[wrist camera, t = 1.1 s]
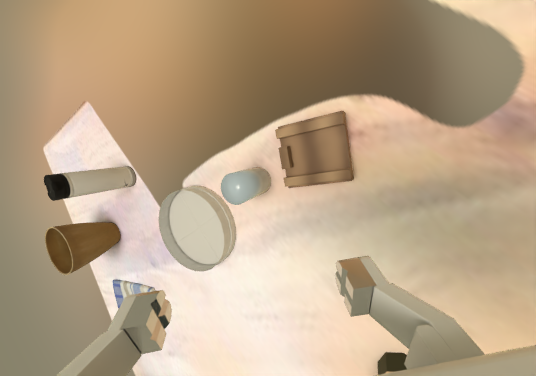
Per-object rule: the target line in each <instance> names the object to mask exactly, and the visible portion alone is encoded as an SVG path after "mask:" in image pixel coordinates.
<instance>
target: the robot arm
mask: <svg viewBox="0 0 536 376" xmlns="http://www.w3.org/2000/svg"><path fill="white" fill-rule="evenodd" d="M336 268H337V270H338V271H337V272H336V284H337V287H338V290H339V292H340V294H341V295H342V296H344V297H345V300H344V303H345V305H346V308H347V310H348V312H349V314H350V316H351V317H352V316H359V315H365V314H369V315H370V316H371V317H372V318H374V319H375V320H376V321H377V322H378V323H379V324H380V325H382V326H383V327H384V328H385V329H386V330H387V331H389V332H390V333H391V334H392V335H393V336H394V337H396V338H397V339H398V340H399V341H400V342H401V343H403V344H404V345H405V346H406V347H407V348H408V349H409V351H408V354H407V357H406V360H405V363H404V364H405V366H406V368H407V370H402V371H396V372H391V373H386V374H381V375H375V376H536V345H533V346H528V347H523V348H518V349H512V350H507V351H502V352H496V353H491V354H486V355H485V354H484V353H483V352H482V351H481V349H480V348H479V347H478V346H477V345H476V344H475V343H474V341H473V340H472V339H471V338H470V337H469V336H468V335H467V333H466V332H465V331H464V330H463V329H462V328H461V327H460V325H459V324H458V323H457V322H456V321H455V320H454V319H453V318H452V317H450V316H448V315H446V314H445V313H443V312H441V311H440V310H438V309H436V308H434V307H433V306H431V305H429V304H427V303H426V302H424V301H422V300H421V299H419V298H417V297H415V296H414V295H412V294H410V293H408V292H407V291H405V290H403V289H402V288H400V287H398V286H396V285H395V284H393V283H392V284H389V282H388V281H387V280H386V278H385V277H384V276H383V274H382V273H381V271H380V270H379V269H378V267H377V266H376V264H375V263H374V262H373V260H372V259H371V257H369V256H363V257H358V258H351V259H345V260H340V261H337V262H336ZM165 296H166V294H165V292H164V291H163V290H160V291H152V292H145V293H139V294H132V295H128V296H126V297H125V298H124V300H123V302H122V304H121V306H120V308H119V310H118V311H117V313H116V315H115V317H114V319H113V321H112V323H111V325H110V327H109V329H108V330H107V332H105V333H102V334H101V335H100V336H99V337H98V338H97V339H96V340H95V341H94V342H93V343H91V344H90V345H89V346H88V347H87V348H86V349H85V350H84V351H83V352H82V353H80V354H79V355H78V356H77V357H76V358H75V359H74V360H73V361H72V362H71V363H69V364H68V365H67V366H66V367H65V368H64V369H63V370H62V371H61V372H60V373H58V375H56V376H126V375H127V374H128V373H129V371H130V370H131V369H132V367H133V366H134V365H135V363H136V362H137V361H138V360H139V358H140V357H141V354H145V353H150V352H155V351H159V350H162V347H163V344H164V340H165V337H166V332H165V328H166V327H167V326H168V324H169V323H170V319H171V312H172V309H171V304H170V302H169V301H168V300H166V299H165Z"/></svg>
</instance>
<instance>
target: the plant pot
mask: <svg viewBox="0 0 536 376" xmlns="http://www.w3.org/2000/svg"><path fill="white" fill-rule="evenodd" d="M119 240H120V231H119V229H118V227H117V226H116V225H115V224H114V223H106V222H96V223H78V224H70V225H63V226H55V227H50V228H48V229H47V231H46V234H45V243H46V249H47V252H48V255H49V257H50V260H51V262H52V264H53V265H54V267H55V268H56V269H57V270H58V271H59V272H60V273H61V274H63V275H68V274H70V273H72V272H74V271H76V270H78V269H79V268H81V267H83V266H84V265H86V264H88V263H90V262H91V261H93V260H94V259H96V258H97V257H99V256H100V255H102V254H103V253H105V252H106V251H107V250H109V249H110V248H111V247H112V246H114V245H115V244H116V243H117V242H118V241H119Z"/></svg>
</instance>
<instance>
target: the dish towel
mask: <svg viewBox="0 0 536 376" xmlns="http://www.w3.org/2000/svg"><path fill="white" fill-rule="evenodd" d="M113 288H114V293H115V297H116V301H117V305H118V308H120V306H121V304H122V302H123V300H124V298H125V297H126V296H128V295H132V294H139V293H145V292H152V291H156V290H155V288H152V287H149V286H145V285H142V284H138V283H131V282H127V281H121V280H113Z"/></svg>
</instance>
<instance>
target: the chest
mask: <svg viewBox="0 0 536 376" xmlns="http://www.w3.org/2000/svg"><path fill="white" fill-rule="evenodd" d="M275 131H276V137H277V139H280V141H281V148H279V153H280V159H281V164H282V169H285V170H286V176H287V177H286V178H284V183H285V186H288V188H292V187H301V186H309V185H318V184H327V183H335V182H344V181H352V180H353V178H354V177H353V170H352V162H351V155H350V147H349V140H348V132H347V125H346V117H345V112H344V111H340V112H336V113H332V114H328V115H324V116H320V117H316V118H312V119H308V120H304V121H300V122H296V123H292V124H288V125H284V126H280V127H278V129H277V130H275Z"/></svg>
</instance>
